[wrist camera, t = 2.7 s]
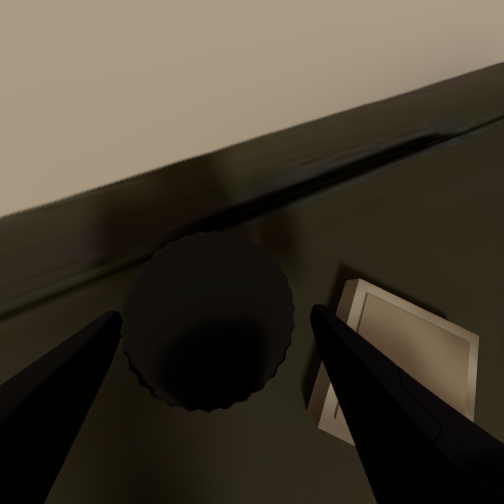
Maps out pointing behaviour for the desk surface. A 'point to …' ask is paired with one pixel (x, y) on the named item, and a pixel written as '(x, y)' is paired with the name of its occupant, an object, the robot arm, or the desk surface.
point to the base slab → (402, 352)
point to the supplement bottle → (207, 321)
